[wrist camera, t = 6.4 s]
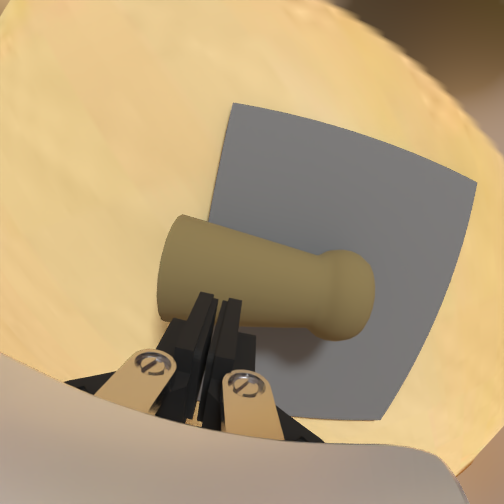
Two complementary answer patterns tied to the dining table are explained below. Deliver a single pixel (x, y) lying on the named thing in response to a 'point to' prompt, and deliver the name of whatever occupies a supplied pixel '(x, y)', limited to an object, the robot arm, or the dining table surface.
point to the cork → (264, 280)
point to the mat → (343, 238)
